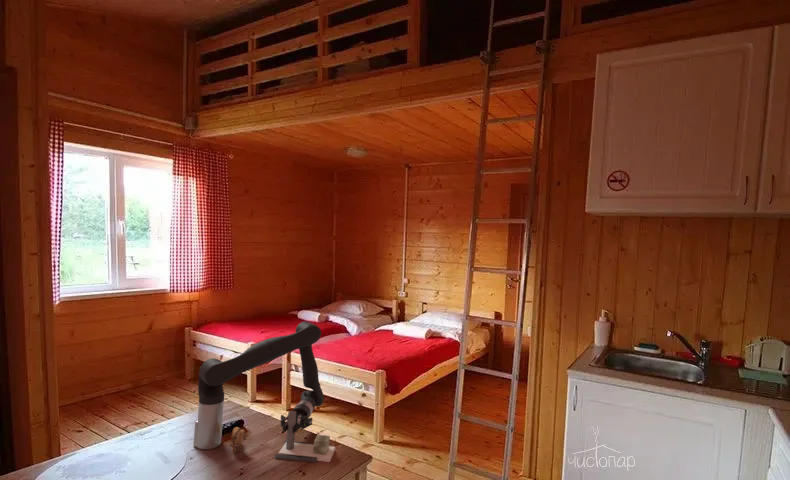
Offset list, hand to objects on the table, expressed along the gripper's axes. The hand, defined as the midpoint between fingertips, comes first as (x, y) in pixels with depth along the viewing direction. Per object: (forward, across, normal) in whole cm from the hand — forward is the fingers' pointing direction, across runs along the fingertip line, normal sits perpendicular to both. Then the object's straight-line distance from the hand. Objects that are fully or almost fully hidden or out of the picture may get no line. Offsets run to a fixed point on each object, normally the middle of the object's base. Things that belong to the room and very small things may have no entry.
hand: (289, 429), depth 161 cm
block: (-3, +12, +8) cm, 15 cm away
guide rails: (-3, +4, +10) cm, 11 cm away
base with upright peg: (-3, +7, +10) cm, 12 cm away
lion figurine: (-2, -21, +10) cm, 23 cm away
